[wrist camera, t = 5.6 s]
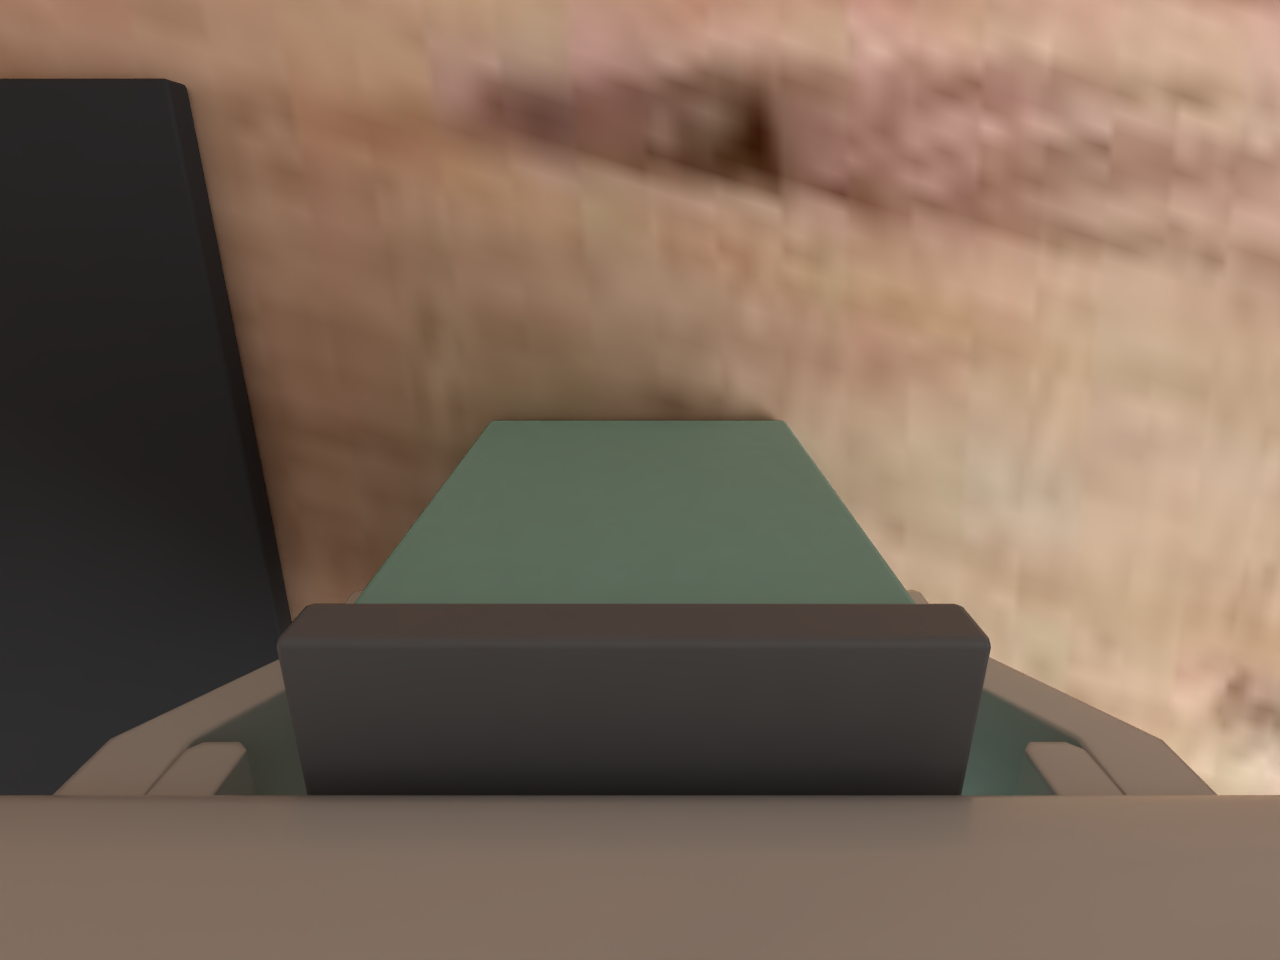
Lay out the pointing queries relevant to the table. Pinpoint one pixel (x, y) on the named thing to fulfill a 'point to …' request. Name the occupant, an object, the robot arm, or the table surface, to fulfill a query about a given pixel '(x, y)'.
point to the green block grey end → (634, 632)
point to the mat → (118, 431)
